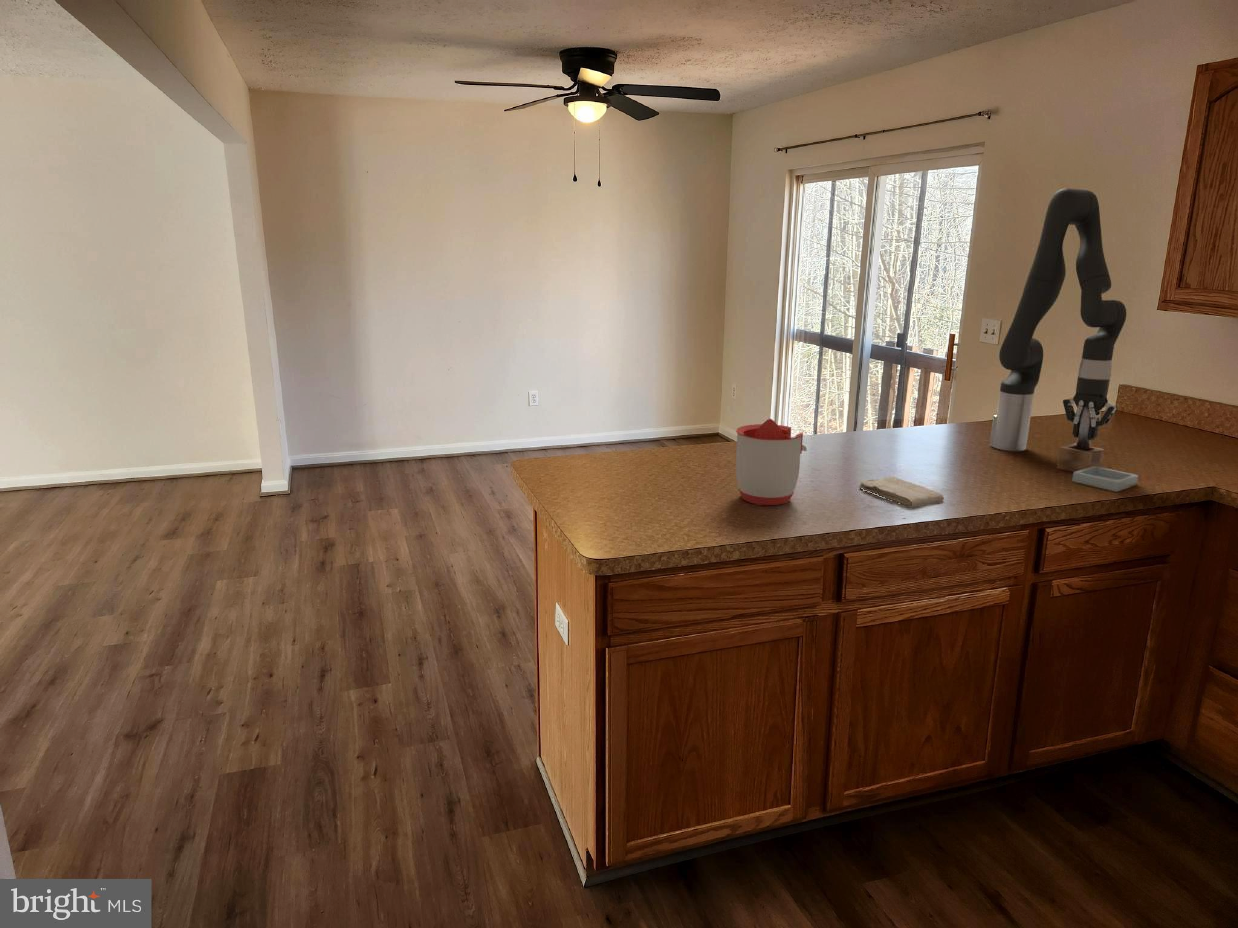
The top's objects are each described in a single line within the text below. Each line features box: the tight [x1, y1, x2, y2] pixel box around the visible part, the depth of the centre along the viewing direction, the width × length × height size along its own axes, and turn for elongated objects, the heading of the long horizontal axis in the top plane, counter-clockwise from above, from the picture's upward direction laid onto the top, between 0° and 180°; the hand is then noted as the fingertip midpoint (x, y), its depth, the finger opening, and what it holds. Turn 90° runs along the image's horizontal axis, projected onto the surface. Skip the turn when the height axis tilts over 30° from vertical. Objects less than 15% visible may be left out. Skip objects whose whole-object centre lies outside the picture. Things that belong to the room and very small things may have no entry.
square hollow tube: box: [1056, 442, 1105, 473], centre depth 223 cm, size 8×8×6 cm
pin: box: [1076, 407, 1092, 451], centre depth 221 cm, size 3×3×12 cm
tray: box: [1071, 466, 1139, 493], centre depth 211 cm, size 11×11×2 cm
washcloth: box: [858, 476, 945, 509], centre depth 200 cm, size 12×18×3 cm, turn 29°
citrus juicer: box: [735, 418, 807, 506], centre depth 194 cm, size 16×17×20 cm
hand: (1084, 438), depth 222 cm, fingers closed on pin, 3 cm apart
